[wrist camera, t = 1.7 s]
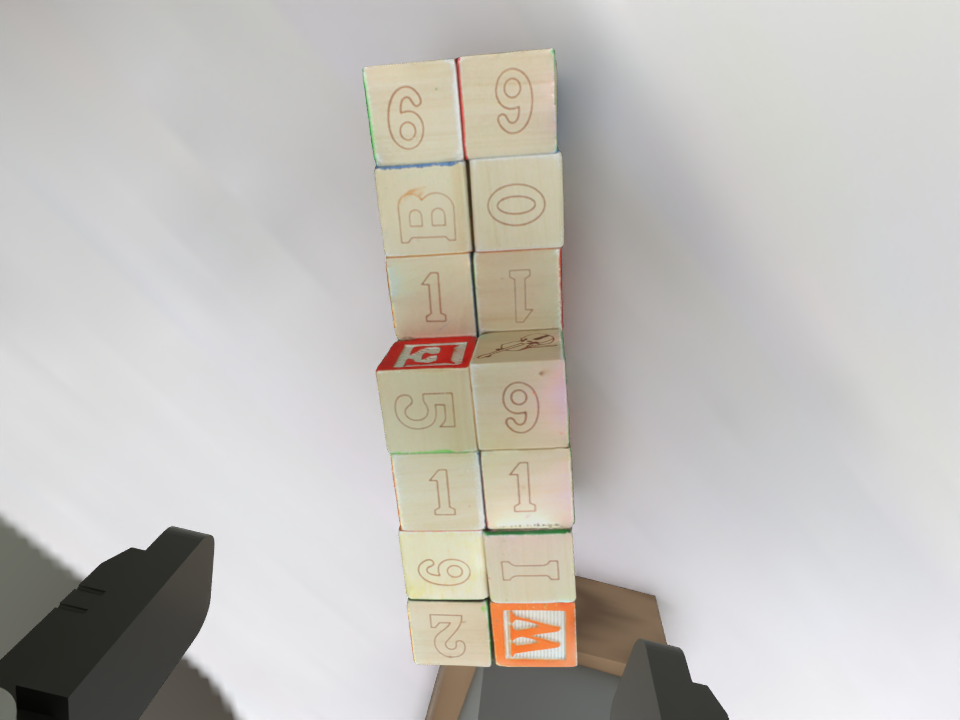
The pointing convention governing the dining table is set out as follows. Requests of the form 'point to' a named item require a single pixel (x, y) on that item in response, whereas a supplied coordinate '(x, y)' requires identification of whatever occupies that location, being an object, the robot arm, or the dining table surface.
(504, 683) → the tower top block
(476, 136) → the stack of blocks
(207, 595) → the robot arm
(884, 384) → the dining table surface
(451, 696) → the tower base block
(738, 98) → the dining table surface
